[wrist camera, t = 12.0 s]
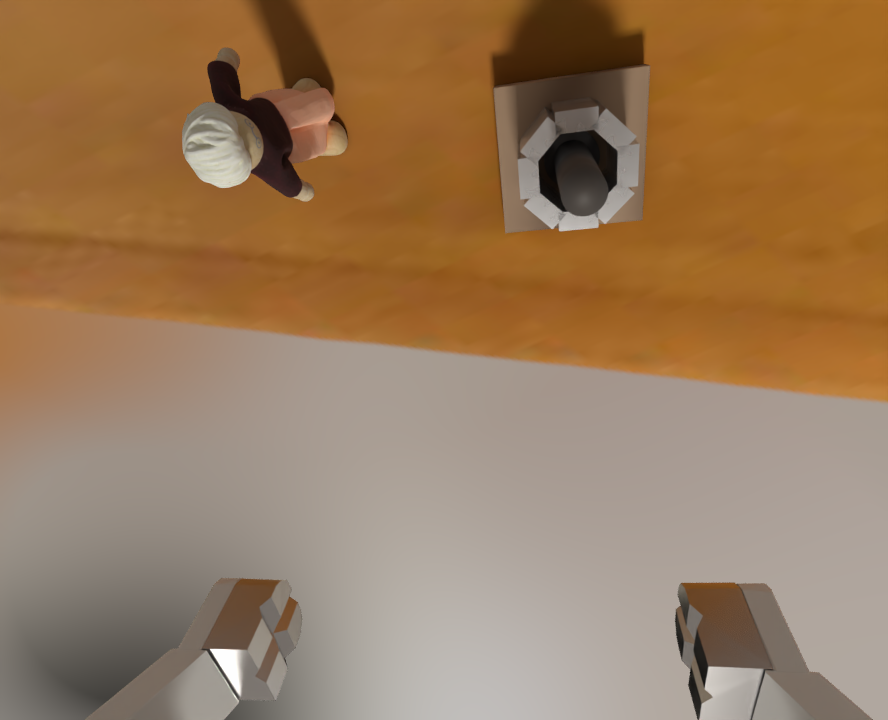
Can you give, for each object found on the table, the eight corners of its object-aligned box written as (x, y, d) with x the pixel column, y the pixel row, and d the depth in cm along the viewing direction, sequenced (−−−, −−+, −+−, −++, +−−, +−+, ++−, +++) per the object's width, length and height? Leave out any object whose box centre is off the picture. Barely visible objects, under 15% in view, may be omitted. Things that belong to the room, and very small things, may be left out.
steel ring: (627, 91, 28) (641, 100, 24) (624, 202, 31) (636, 223, 27) (515, 107, 29) (514, 117, 26) (523, 213, 32) (522, 234, 28)
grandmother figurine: (375, 147, 32) (302, 205, 22) (330, 184, 34) (241, 254, 23) (288, 27, 30) (155, 26, 19) (243, 73, 31) (97, 95, 21)
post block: (644, 64, 28) (691, 77, 20) (637, 212, 32) (674, 272, 24) (494, 85, 30) (483, 105, 22) (506, 225, 34) (500, 285, 26)
